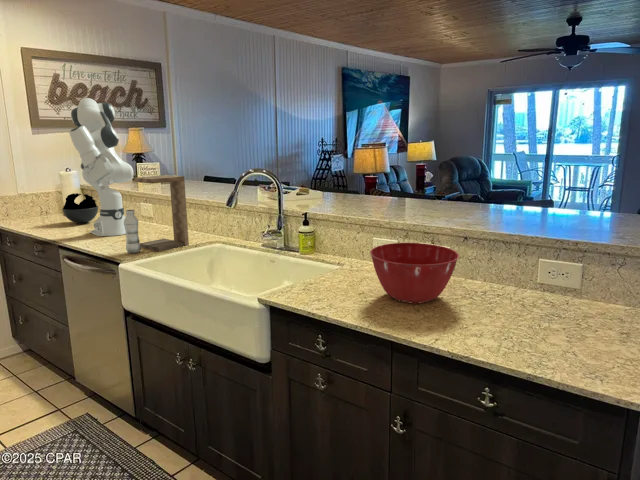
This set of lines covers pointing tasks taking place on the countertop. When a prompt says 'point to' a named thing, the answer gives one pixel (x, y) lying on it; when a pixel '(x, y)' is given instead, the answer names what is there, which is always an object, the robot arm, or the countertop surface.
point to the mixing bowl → (413, 270)
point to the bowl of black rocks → (80, 209)
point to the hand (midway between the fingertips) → (107, 186)
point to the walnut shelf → (177, 213)
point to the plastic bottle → (131, 232)
